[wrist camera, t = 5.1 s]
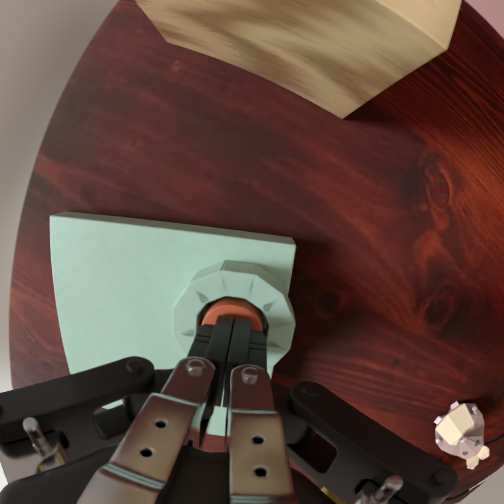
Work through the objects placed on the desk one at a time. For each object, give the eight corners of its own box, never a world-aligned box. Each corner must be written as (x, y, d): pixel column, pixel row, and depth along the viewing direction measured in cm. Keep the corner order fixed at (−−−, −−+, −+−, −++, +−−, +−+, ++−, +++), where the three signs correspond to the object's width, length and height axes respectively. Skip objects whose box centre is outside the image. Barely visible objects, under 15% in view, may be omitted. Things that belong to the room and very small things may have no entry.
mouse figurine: (449, 445, 20) (471, 485, 14) (423, 428, 19) (449, 478, 13) (484, 414, 19) (510, 451, 13) (465, 391, 18) (499, 436, 12)
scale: (67, 210, 15) (32, 219, 12) (299, 238, 15) (309, 254, 12) (87, 384, 19) (68, 410, 16) (262, 422, 19) (261, 457, 16)
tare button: (208, 288, 14) (202, 300, 12) (266, 295, 14) (266, 309, 12) (205, 337, 15) (199, 353, 13) (258, 344, 15) (257, 361, 13)
